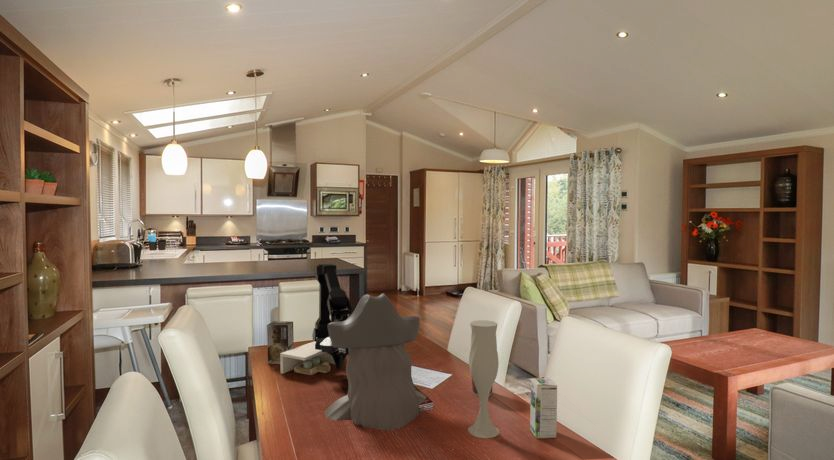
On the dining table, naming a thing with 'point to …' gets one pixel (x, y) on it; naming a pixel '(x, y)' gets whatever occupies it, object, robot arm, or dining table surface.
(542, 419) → the syrup box
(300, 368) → the beige flat piece
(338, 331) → the grey sculpted piece
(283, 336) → the coffee box
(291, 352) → the cream flanged slab
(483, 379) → the vase
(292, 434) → the dining table surface
